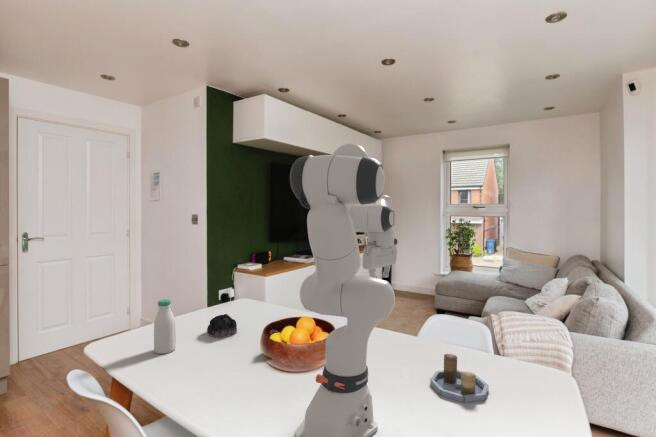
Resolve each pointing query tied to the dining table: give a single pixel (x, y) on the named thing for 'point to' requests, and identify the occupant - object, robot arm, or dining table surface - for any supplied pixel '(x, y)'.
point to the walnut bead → (450, 368)
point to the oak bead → (468, 383)
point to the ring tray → (458, 388)
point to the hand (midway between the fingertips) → (379, 279)
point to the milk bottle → (164, 329)
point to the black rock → (222, 326)
